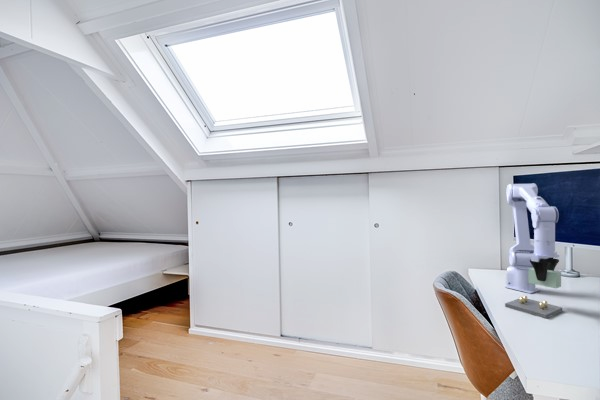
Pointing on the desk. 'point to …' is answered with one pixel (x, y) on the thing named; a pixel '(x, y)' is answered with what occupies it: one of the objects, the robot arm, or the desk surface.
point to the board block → (551, 279)
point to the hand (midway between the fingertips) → (544, 279)
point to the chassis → (534, 307)
